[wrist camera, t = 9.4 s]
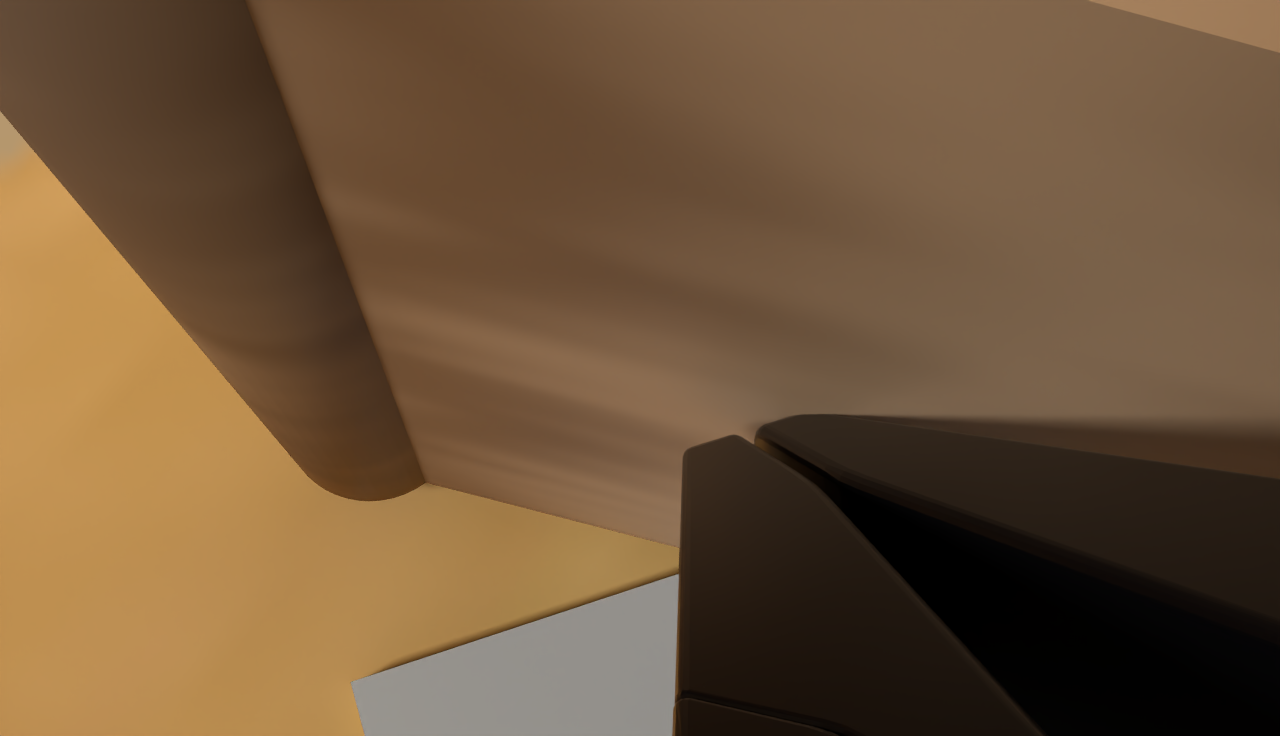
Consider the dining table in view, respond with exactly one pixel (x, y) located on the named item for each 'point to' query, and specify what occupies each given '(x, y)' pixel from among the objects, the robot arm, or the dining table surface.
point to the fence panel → (683, 223)
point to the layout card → (542, 676)
